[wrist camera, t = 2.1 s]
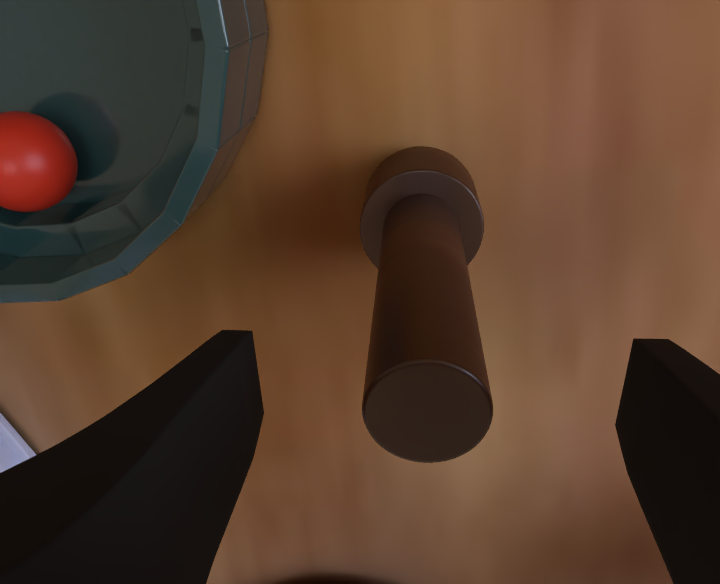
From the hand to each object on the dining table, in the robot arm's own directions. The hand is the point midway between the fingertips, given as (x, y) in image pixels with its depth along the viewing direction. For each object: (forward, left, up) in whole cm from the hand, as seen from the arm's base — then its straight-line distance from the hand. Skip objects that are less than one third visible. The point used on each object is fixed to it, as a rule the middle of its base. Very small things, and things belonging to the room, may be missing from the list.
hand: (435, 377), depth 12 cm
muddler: (0, 0, -9) cm, 9 cm away
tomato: (-11, +6, -7) cm, 15 cm away
